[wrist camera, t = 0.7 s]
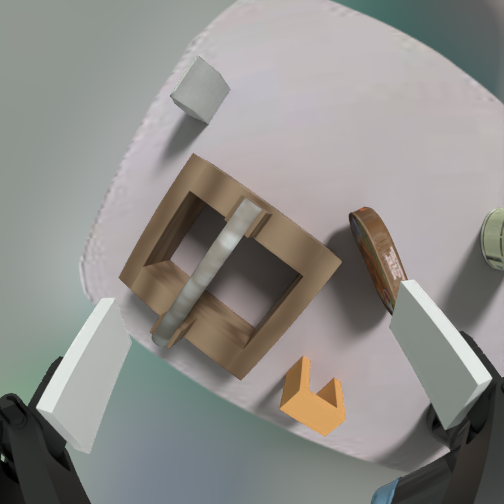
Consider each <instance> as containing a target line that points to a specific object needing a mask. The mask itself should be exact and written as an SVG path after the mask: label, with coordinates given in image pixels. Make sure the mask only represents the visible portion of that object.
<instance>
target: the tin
mask: <svg viewBox="0 0 504 504" xmlns="http://www.w3.org/2000/svg"><path fill="white" fill-rule="evenodd" d="M349 222H350V226H351V230H352V232H353V235H354V237H355V240H356V242H357V244H358V247H359V249H360V251H361V253H362V256H363V258H364V261H365V263H366V265H367V268H368V270H369V272H370V275H371V277H372V280H373V282H374V285H375V287H376V290H377V292H378V294H379V296H380V298H381V300H382V302H383V304H384V305H385V307H386V309H387V310H388V312H389V313H390V314H391V315H393V311H394V308H395V304H396V299H397V295H398V291H399V286H400V282H401V281H406V280H408V279H407V276H406V274H405V271H404V268H403V266H402V263H401V260H400V258H399V255H398V253H397V250H396V248H395V245H394V243H393V241H392V238H391V236H390V234H389V232H388V230H387V228H386V226H385V224H384V223H383V221H382V219H381V218H380V217H379V215H378V214H377V213H376V212H375V211H374V210H373V209H371V208H369V207H363V208H361V209H359V210H357V211H355V212H351V213H350V214H349Z"/></svg>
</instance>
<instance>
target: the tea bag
mask: <svg viewBox="0 0 504 504" xmlns="http://www.w3.org/2000/svg"><path fill="white" fill-rule="evenodd" d="M230 90H231V89H230V88H229V86H228V85H227V83H226V82H225V80H224V79H223V77H222V76H221V74H220V73H219V72H218V71H217V70H215V69H214V68H213V67H212V66H211V65H209V64H208V63H207V62H206V61H204V60H203V59H202V58H201V57H200V56H199V57H198V56H196V58H195V59H194V61H193V62H192V63H191V65H190V66H189V68H188V69H187V71H186V72H185V73H184V75H183V76H182V78H181V79H180V81H179V82H178V84H177V86H176V87H175V89H174V90H173V92H172V93H171V95H170V97H171V98H172V99H173V101H174V103H175V104H176V105H177V106H178V107H180V108H181V109H182V110H183V111H184V112H186V113H187V114H188V115H189V116H191V117H193V118H195V119H198V120H200V121H202V122H205V123H207V124H209V123H210V121H211V120H212V118H213V116H214V115H215V113H216V112H217V110H218V108H219V107H220V105H221V104H222V102H223V100H224V99H225V97H226V96H227V94H228V93H229V91H230Z"/></svg>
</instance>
